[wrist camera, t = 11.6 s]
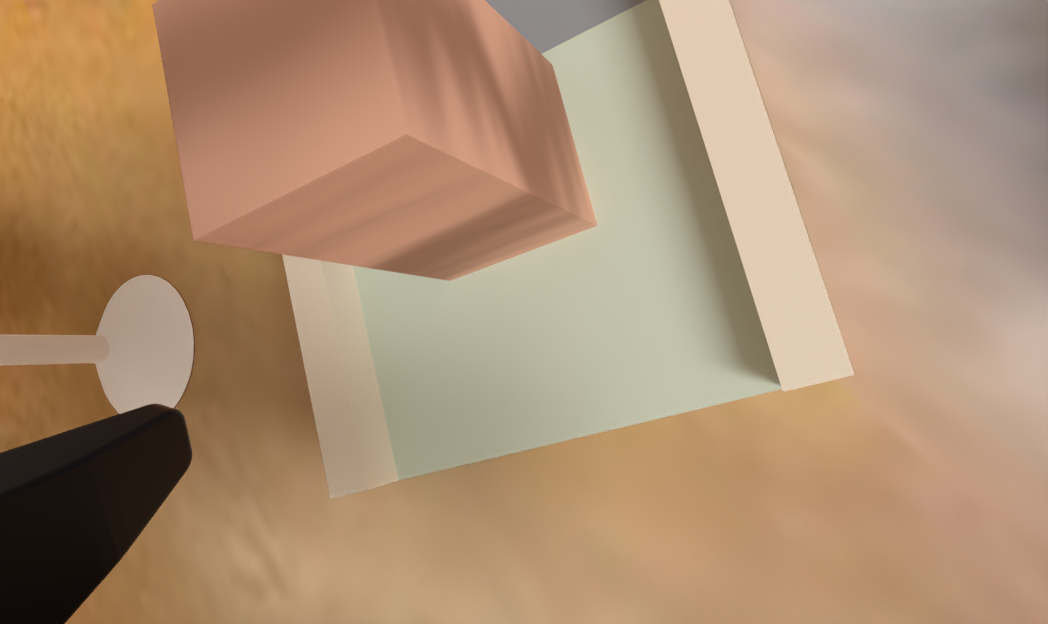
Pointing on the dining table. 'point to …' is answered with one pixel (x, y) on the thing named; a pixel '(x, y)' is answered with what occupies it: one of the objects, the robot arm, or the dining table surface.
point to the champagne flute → (124, 346)
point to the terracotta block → (369, 132)
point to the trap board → (588, 270)
